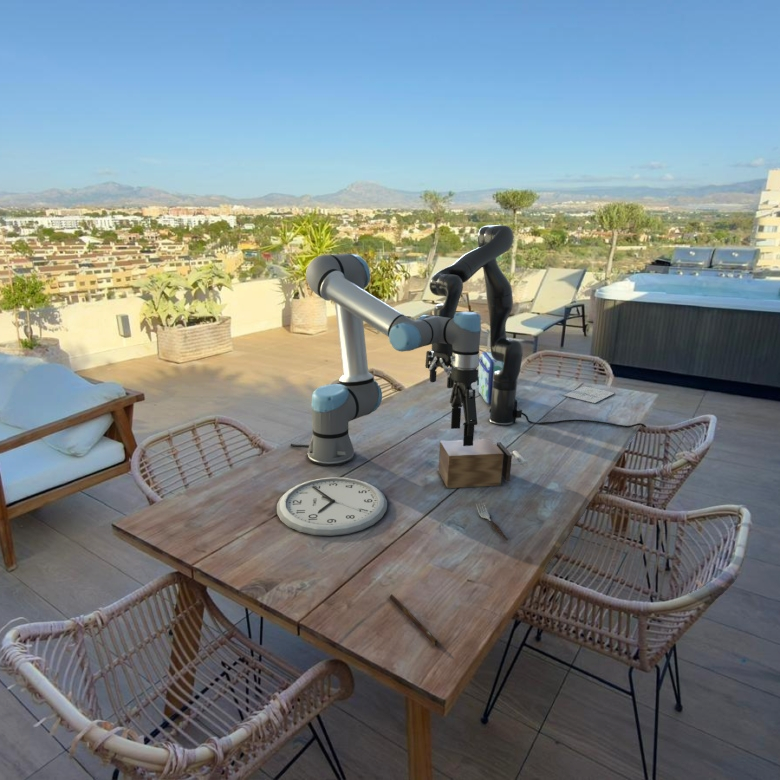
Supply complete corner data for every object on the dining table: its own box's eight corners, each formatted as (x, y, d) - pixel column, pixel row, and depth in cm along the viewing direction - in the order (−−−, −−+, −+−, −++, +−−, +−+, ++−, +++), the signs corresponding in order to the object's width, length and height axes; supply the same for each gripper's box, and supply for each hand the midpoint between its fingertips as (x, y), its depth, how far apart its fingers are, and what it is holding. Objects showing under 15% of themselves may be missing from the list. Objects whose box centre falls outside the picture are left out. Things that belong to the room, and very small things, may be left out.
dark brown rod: (389, 598, 107) (389, 594, 107) (391, 597, 107) (391, 593, 107) (435, 645, 95) (435, 641, 95) (437, 644, 96) (437, 640, 95)
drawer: (515, 465, 166) (517, 441, 164) (527, 480, 157) (530, 454, 155) (452, 468, 163) (453, 444, 161) (460, 483, 154) (462, 457, 152)
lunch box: (475, 390, 246) (478, 346, 240) (498, 390, 246) (501, 347, 240) (484, 408, 221) (487, 360, 215) (509, 409, 221) (513, 360, 215)
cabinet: (488, 468, 166) (491, 438, 163) (500, 485, 156) (503, 453, 152) (438, 471, 164) (439, 440, 161) (447, 488, 153) (449, 456, 150)
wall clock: (392, 527, 129) (268, 531, 127) (391, 533, 130) (269, 537, 127) (383, 473, 158) (282, 475, 155) (383, 478, 158) (282, 480, 156)
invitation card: (584, 385, 255) (614, 392, 245) (584, 386, 255) (614, 393, 245) (563, 394, 240) (594, 402, 230) (563, 395, 240) (594, 403, 230)
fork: (502, 542, 127) (502, 535, 126) (474, 509, 141) (475, 503, 141) (511, 541, 127) (512, 534, 127) (483, 508, 142) (484, 502, 142)
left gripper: (441, 357, 160) (439, 422, 166) (464, 379, 136) (460, 454, 143) (465, 356, 161) (462, 421, 167) (492, 378, 137) (487, 452, 144)
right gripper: (467, 339, 166) (464, 388, 171) (437, 332, 177) (435, 378, 182) (450, 342, 162) (447, 391, 167) (420, 334, 173) (419, 381, 177)
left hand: (461, 436), depth 155 cm, fingers open, 13 cm apart
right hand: (441, 384), depth 174 cm, fingers open, 8 cm apart
